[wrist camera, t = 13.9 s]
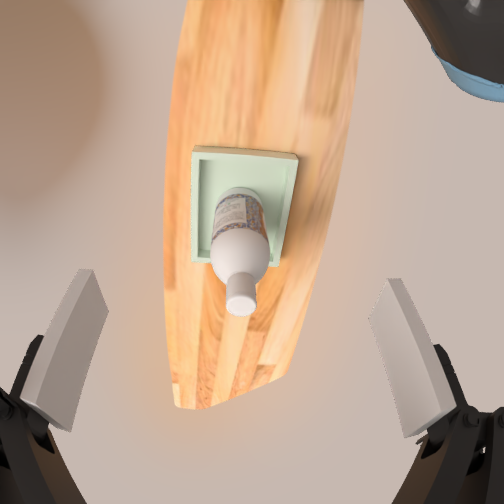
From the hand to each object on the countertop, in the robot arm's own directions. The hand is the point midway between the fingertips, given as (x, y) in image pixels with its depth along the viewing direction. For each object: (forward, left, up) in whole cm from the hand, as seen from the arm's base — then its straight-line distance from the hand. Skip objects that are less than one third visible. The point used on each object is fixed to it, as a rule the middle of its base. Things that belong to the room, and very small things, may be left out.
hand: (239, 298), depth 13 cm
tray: (+9, +7, -31) cm, 33 cm away
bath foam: (+9, +7, -30) cm, 32 cm away
